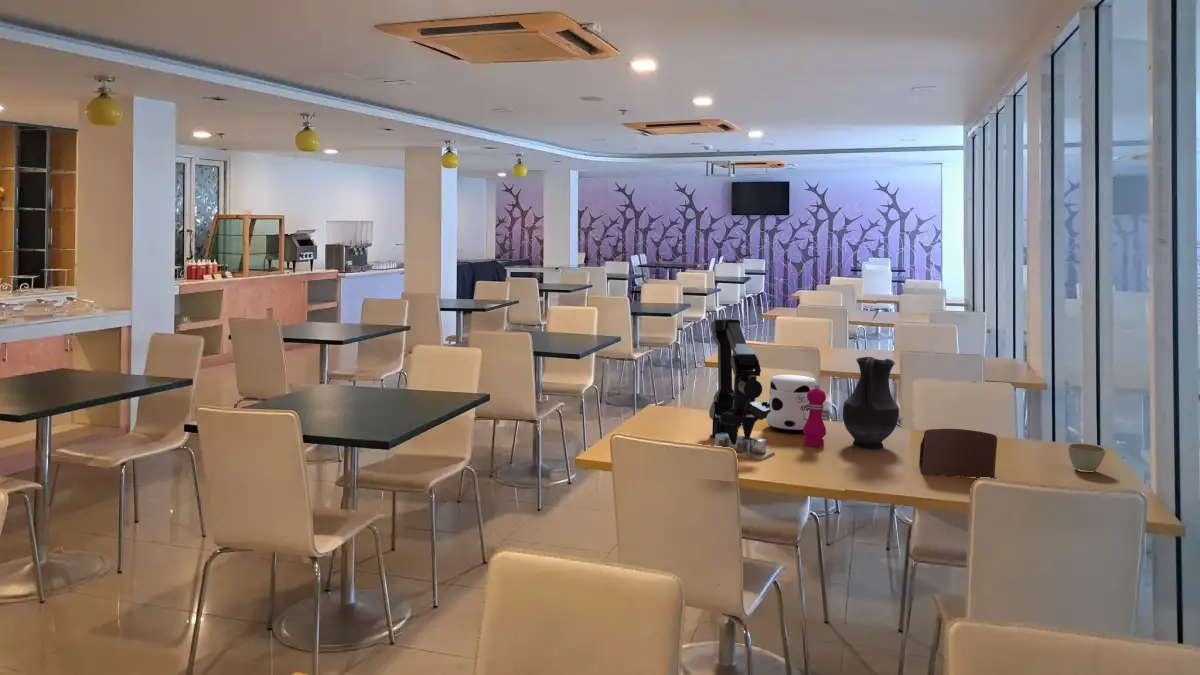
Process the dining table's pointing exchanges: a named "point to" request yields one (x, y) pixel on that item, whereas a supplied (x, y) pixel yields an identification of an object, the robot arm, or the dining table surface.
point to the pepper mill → (815, 418)
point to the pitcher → (871, 405)
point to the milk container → (789, 402)
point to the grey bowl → (1086, 456)
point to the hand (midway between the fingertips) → (740, 441)
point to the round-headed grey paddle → (749, 444)
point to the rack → (745, 454)
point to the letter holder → (958, 453)
